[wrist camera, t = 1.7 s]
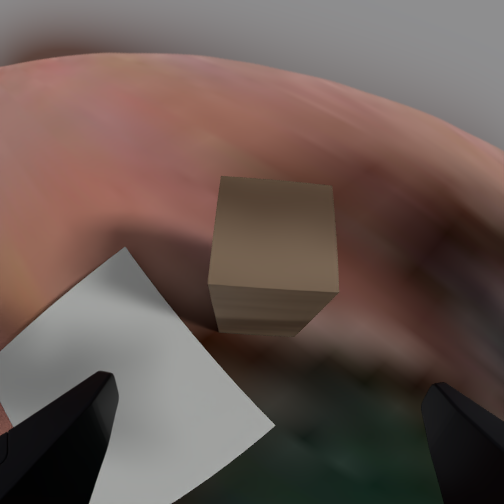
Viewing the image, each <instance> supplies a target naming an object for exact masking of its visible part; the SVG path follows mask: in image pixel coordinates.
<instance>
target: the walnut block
mask: <svg viewBox="0 0 504 504" xmlns="http://www.w3.org/2000/svg"><path fill="white" fill-rule="evenodd" d="M208 288H209V292H210V296H211V301H212V305H213V309H214V313H215V317H216V321H217V326H218V330H219V332H221V333H234V334H248V335H264V336H284V337H294V336H295V335H296V334H298V333H299V332H300V331H301V330H302V329H303V328H304V327H305V326H306V325H307V324H308V323H309V322H310V321H311V320H312V319H313V318H314V317H315V316H316V315H317V314H318V313H319V312H320V311H321V310H322V309H323V308H324V307H325V306H326V305H327V304H328V303H329V302H330V301H331V300H332V299H333V298H334V297H335V296H336V295H337V294H338V293H339V278H338V258H337V241H336V226H335V213H334V202H333V191H332V186H329V185H320V184H311V183H301V182H291V181H280V180H269V179H256V178H243V177H228V176H221V180H220V187H219V194H218V202H217V209H216V217H215V225H214V233H213V241H212V250H211V258H210V267H209V276H208Z"/></svg>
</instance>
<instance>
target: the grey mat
mask: <svg viewBox="0 0 504 504" xmlns="http://www.w3.org/2000/svg"><path fill="white" fill-rule="evenodd" d="M97 371H106V372H111V373H113V374H114V377H115V380H116V384H117V388H118V392H119V402H118V406H117V410H116V414H115V419H114V423H113V427H112V432H111V437H110V441H109V445H108V448H107V452H106V454H105V457H104V460H103V463H102V466H101V469H100V472H99V475H98V478H97V481H96V484H95V487H94V490H93V493H92V496H91V500H90V503H89V504H171V503H173V502H174V501H176V500H177V499H179V498H180V497H182V496H183V495H185V494H186V493H188V492H189V491H191V490H192V489H194V488H195V487H197V486H198V485H200V484H201V483H202V482H204V481H205V480H207V479H208V478H210V477H211V476H212V475H214V474H215V473H216V472H218V471H219V470H220V469H222V468H223V467H224V466H226V465H227V464H228V463H230V462H231V461H232V460H234V459H235V458H236V457H238V456H239V455H240V454H241V453H243V452H244V451H245V450H246V449H248V448H249V447H250V446H251V445H253V444H254V443H255V442H256V441H257V440H259V439H260V438H261V437H262V436H263V435H265V434H266V433H267V432H268V431H269V430H271V429H272V428H273V427H274V426H275V425H274V424H273V423H272V422H271V421H270V420H269V418H268V417H267V416H266V415H265V414H264V413H263V412H262V411H261V410H260V409H259V408H258V407H257V406H256V405H255V404H254V403H253V402H252V401H251V400H250V399H249V398H248V397H247V395H246V394H245V393H244V392H243V391H242V390H241V389H240V388H239V387H238V386H237V385H236V384H235V382H234V381H233V380H232V379H231V378H230V377H229V376H228V375H227V374H226V372H225V371H224V370H223V369H222V368H221V367H220V366H219V365H218V363H217V362H216V361H215V360H214V359H213V358H212V356H211V355H210V354H209V353H208V352H207V351H206V350H205V348H204V347H203V346H202V345H201V344H200V342H199V341H198V340H197V339H196V338H195V336H194V335H193V334H192V333H191V332H190V330H189V329H188V328H187V327H186V326H185V324H184V323H183V322H182V321H181V319H180V318H179V317H178V316H177V315H176V313H175V312H174V311H173V310H172V308H171V307H170V306H169V304H168V303H167V302H166V301H165V299H164V298H163V297H162V296H161V294H160V293H159V292H158V290H157V289H156V288H155V286H154V285H153V284H152V282H151V281H150V280H149V279H148V277H147V276H146V275H145V273H144V272H143V270H142V269H141V268H140V266H139V265H138V264H137V262H136V261H135V260H134V258H133V257H132V255H131V254H130V253H129V251H128V250H127V248H126V247H124V248H123V249H121V250H120V251H119V252H117V253H116V254H115V255H113V256H112V257H111V258H110V259H108V260H107V261H106V262H104V263H103V264H102V265H101V266H99V267H98V268H97V269H95V270H94V271H93V272H92V273H90V274H89V275H88V276H87V277H85V278H84V279H83V280H82V281H81V282H79V283H78V284H77V285H76V286H74V287H73V288H72V289H71V290H69V291H68V292H67V293H66V294H65V295H63V296H62V297H61V298H60V299H59V300H58V301H56V302H55V303H54V304H53V305H52V306H50V307H49V308H48V309H47V310H46V311H45V312H43V313H42V314H41V315H40V316H39V317H38V318H37V319H35V320H34V321H33V322H32V323H31V324H30V325H29V326H27V327H26V328H25V329H24V330H23V331H22V332H21V333H20V334H19V335H17V336H16V337H15V338H14V339H13V340H12V341H11V342H10V343H9V344H8V345H7V346H6V347H4V348H3V349H2V350H1V351H0V402H1V404H2V406H3V408H4V410H5V412H6V414H7V416H8V418H9V420H10V422H11V423H12V425H13V427H15V426H16V425H18V424H19V423H21V422H22V421H24V420H25V419H27V418H28V417H30V416H31V415H33V414H34V413H36V412H37V411H39V410H40V409H42V408H43V407H45V406H46V405H48V404H49V403H51V402H52V401H54V400H55V399H57V398H58V397H60V396H61V395H63V394H64V393H66V392H67V391H69V390H70V389H72V388H73V387H75V386H76V385H78V384H79V383H81V382H82V381H84V380H85V379H87V378H88V377H90V376H91V375H93V374H94V373H96V372H97Z"/></svg>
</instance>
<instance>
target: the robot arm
mask: <svg viewBox="0 0 504 504" xmlns="http://www.w3.org/2000/svg"><path fill="white" fill-rule="evenodd" d="M118 402H119V392H118V388H117V384H116V380H115V377H114V374H113V373H111V372H106V371H97V372H96V373H94V374H93V375H91V376H90V377H88V378H87V379H85V380H84V381H82V382H81V383H79V384H78V385H76V386H75V387H73V388H72V389H70V390H69V391H67V392H66V393H64V394H63V395H61V396H60V397H58V398H57V399H55V400H54V401H52V402H51V403H49V404H48V405H46V406H45V407H43V408H42V409H40V410H39V411H37V412H36V413H34V414H33V415H31V416H30V417H28V418H27V419H25V420H24V421H22V422H21V423H19V424H18V425H16V426H15V427H13V428H12V429H10V430H9V431H8V432H5V433H4V434H2V435H1V436H0V504H89V503H90V500H91V496H92V493H93V490H94V487H95V484H96V481H97V478H98V475H99V472H100V469H101V466H102V463H103V460H104V457H105V454H106V452H107V448H108V445H109V441H110V437H111V432H112V427H113V423H114V419H115V414H116V410H117V406H118ZM421 411H422V415H423V420H424V425H425V430H426V435H427V440H428V445H429V450H430V454H431V457H432V461H433V464H434V468H435V471H436V475H437V479H438V482H439V486H440V490H441V494H442V498H443V502H444V504H504V421H502V420H501V419H499V418H498V417H496V416H495V415H493V414H492V413H490V412H489V411H487V410H486V409H484V408H483V407H481V406H480V405H478V404H477V403H475V402H474V401H472V400H471V399H469V398H468V397H466V396H465V395H463V394H462V393H460V392H459V391H457V390H456V389H454V388H453V387H451V386H450V385H448V384H447V383H444V382H440V383H434V384H432V385H431V387H430V388H429V390H428V392H427V394H426V396H425V398H424V400H423V402H422V405H421Z"/></svg>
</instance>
